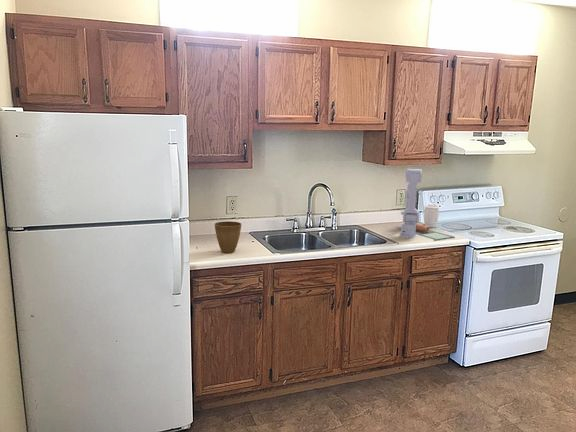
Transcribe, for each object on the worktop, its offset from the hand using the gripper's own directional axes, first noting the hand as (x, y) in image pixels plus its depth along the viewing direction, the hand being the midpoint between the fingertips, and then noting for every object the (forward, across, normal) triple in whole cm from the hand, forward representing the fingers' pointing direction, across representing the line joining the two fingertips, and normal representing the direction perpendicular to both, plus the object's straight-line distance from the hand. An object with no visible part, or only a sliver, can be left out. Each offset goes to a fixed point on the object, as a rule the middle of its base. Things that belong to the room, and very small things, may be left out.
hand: (408, 226), depth 337 cm
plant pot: (+2, +2, +136) cm, 136 cm away
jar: (+2, -1, -20) cm, 20 cm away
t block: (+1, -11, 0) cm, 11 cm away
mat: (+2, -18, 0) cm, 18 cm away
